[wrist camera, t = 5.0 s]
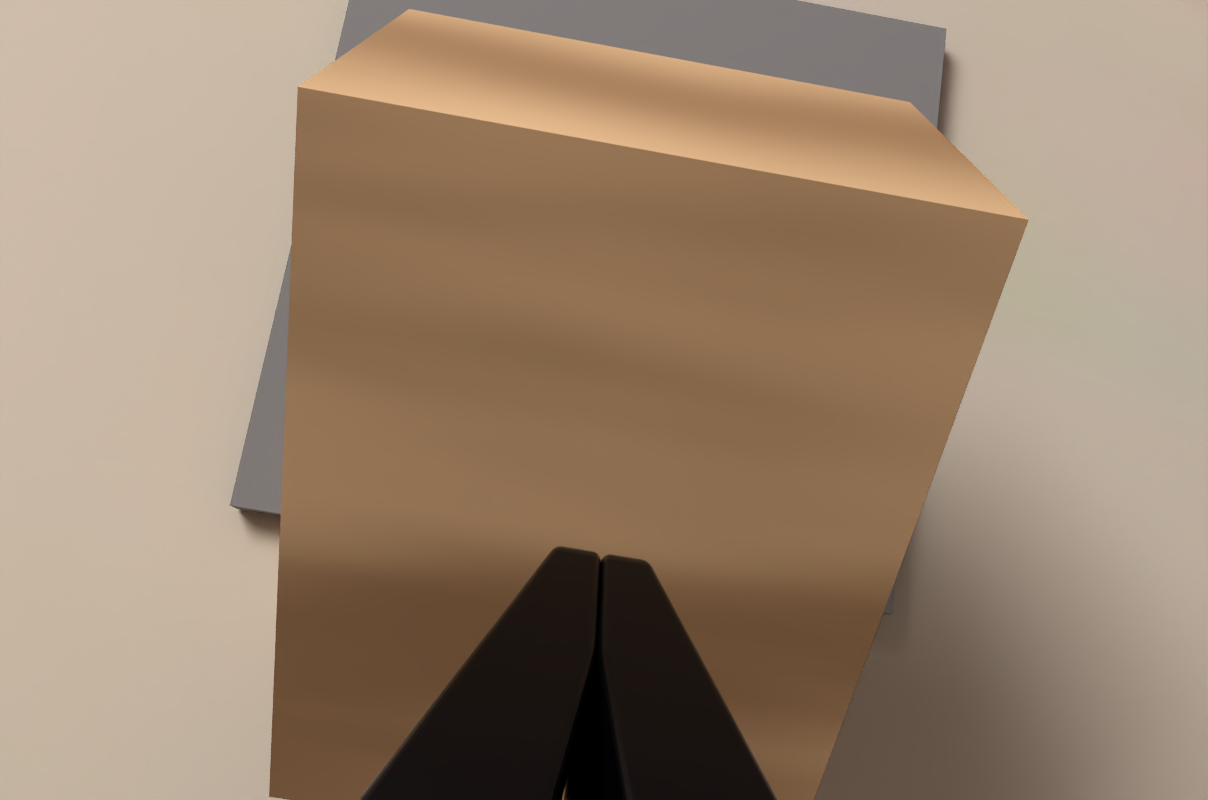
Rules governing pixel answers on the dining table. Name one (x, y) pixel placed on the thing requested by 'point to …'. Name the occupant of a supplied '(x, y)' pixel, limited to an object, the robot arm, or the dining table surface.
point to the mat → (656, 26)
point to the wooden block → (608, 370)
